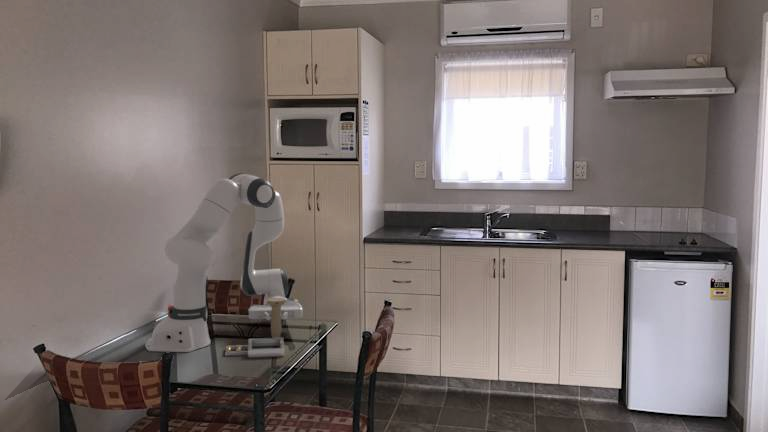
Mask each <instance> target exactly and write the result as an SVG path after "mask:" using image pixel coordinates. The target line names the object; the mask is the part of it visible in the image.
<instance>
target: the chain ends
mask: <svg viewBox="0 0 768 432" xmlns="http://www.w3.org/2000/svg"><path fill="white" fill-rule="evenodd" d="M275 346H276V347H275ZM254 347H255V348H254ZM256 347H269V348H256ZM271 347H272V348H271ZM224 356H225V357H228V356H232V357H233V356H247V358H249V359H250V358H268V357H269V358H271V357H275V358H276V357H285V342H284V337H280V338H272V337H263V338H262V337H261V338H258V337H257V338H248V342H247V344H244V345H242V344H237V345H230V344H228V345H226V346H225V353H224Z"/></svg>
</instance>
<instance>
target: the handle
mask: <svg viewBox="0 0 768 432" xmlns="http://www.w3.org/2000/svg"><path fill="white" fill-rule="evenodd" d="M284 303H285V299H284V298H270V299H268V304H269V305H271V306H272V313H271V320H270V334H271V338H282V337H281V335H282V320H281V305H283V304H284Z"/></svg>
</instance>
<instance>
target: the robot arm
mask: <svg viewBox="0 0 768 432" xmlns="http://www.w3.org/2000/svg"><path fill="white" fill-rule="evenodd" d="M239 203H242V204H245V205H248V206H253V207H254V211H255V216H254V217H255V223H254V227H253V229H252V230H251V231H249V232H248V235H247V237H246V244H245V249H244V250H245V252H244V260H243V269H242V270H243V271H242V274H241V277H240V283H239V284H240V285H239V286H240V289H241V292H242V293H243V294H245V295H246V296H248V297H252V296H253V297H255V296H257V295H264V298H263V304H262V305H261V304H259V305H258V304H257V305H255V304H254V305H250V307H248V310H247V312H248V319H250V320H267V321H271V313H272V306H271V305H269V304H268V299H270V298H284V299H285V303H284V304H283V305H281V321H285V320H286V319H302V318H303V315H304V311H303V306H302V305H301V303H299V299H294V298H287V297H286V296H287V295H288V293H289V291H290V289H289V281H288V274H287V272H286V271H284V269H282V268H280V267H279V268H269V269H257V270H256V269H254V266H255V259H256V253H257V250H258V249H260V248H261V247H263V246H264V245H266V244H269V243H272V242H273V241H275V240H277V239H278V238H279V237H280V236H282V234H283V232H284V231H285V211H284V205H283V199H282V197H281V194H280V193H279V191H276V190H275V189H274V187H273V185H272V183H270V182H269V181H268V180H267V179H265V178H262V177H258V176H256V175H254V174H253V175H252V174H247V173H236V174H234V175H231V176H230V177H228V178H219V179H218V180H216V182H215V183H214V184H213V186H212V187H211V188H210V189H209V190H208V191H207V193H206V194H205V196H204V198H203V199H202V200H201V202H200V204H199V205H198V207H197V209H196V210H195V212H194V213H193V215H192V216H191V218H190V219H189V220H188V221H187V222H186V223H185V224H184V225H183V226H182V228H181V229H180V230H179V231H178V232H177V233H176V234H175V235H172V237H170V238H169V239H168V240H167V241H166V243H165V245H164V253H165V256H166V257H167V259H168V260H169V261H170V262H171V263H173V264H175V265H177V267H178V268H177V269H178V270H177V277H176V281H174V284H173V285H172V286H173V287H172V288H173V290H172V291H173V295H172V296H173V304H168V306H167V317H165V319H163V320H162V321H160V322H159V323H158V324H157V325H156V326H155V327H154V328H153V331H152V334H151V337H150V338H149V339H148V340H147V341H146V342H145V344H144V345H145V347H146V349H147V350H148V351H147V350H146V349H145V350H146V351H147V352H165V353H167V352H170V353H172V352H173V353H174V352H175V353H179V352H180V353H190V352H193V351H195V350H197V349H202V348H205V347H206V346H207V347H208V346H209V345H210V344H211V342H212V341H211V338H210V335H209V330H208V324H207V322H208V321H207V320H208V307H207V306H208V305H207V303H206V284H207V278H208V272H209V269H210V268H211V267H212V265H213V263H214V259H215V256H214V254H215V253H214V252H213V249H212V248H211V247H210V245H208V242H209V241H210V240H211V239H213V238H214V237H215V236H217V235H218V234H219V233H220V232H221V230H222V229H223V227H224V226H225V224H226V222H227V221H228V219H229V217H230V216H231V214H232V212H233V210H234V208H235V207H236V205H237V204H239ZM145 347H144V348H145Z"/></svg>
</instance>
